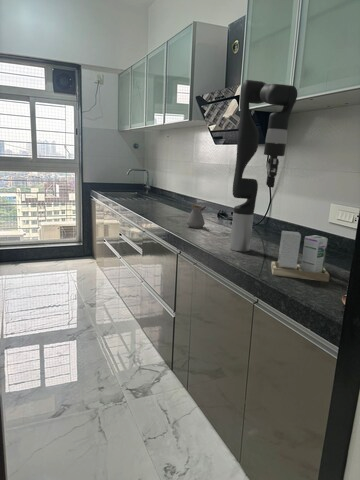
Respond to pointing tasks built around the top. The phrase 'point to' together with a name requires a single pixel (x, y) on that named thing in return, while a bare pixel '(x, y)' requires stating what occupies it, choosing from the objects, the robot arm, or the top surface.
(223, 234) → the top surface
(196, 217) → the coffee pot
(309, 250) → the syrup box
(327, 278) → the wooden tray
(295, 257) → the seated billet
